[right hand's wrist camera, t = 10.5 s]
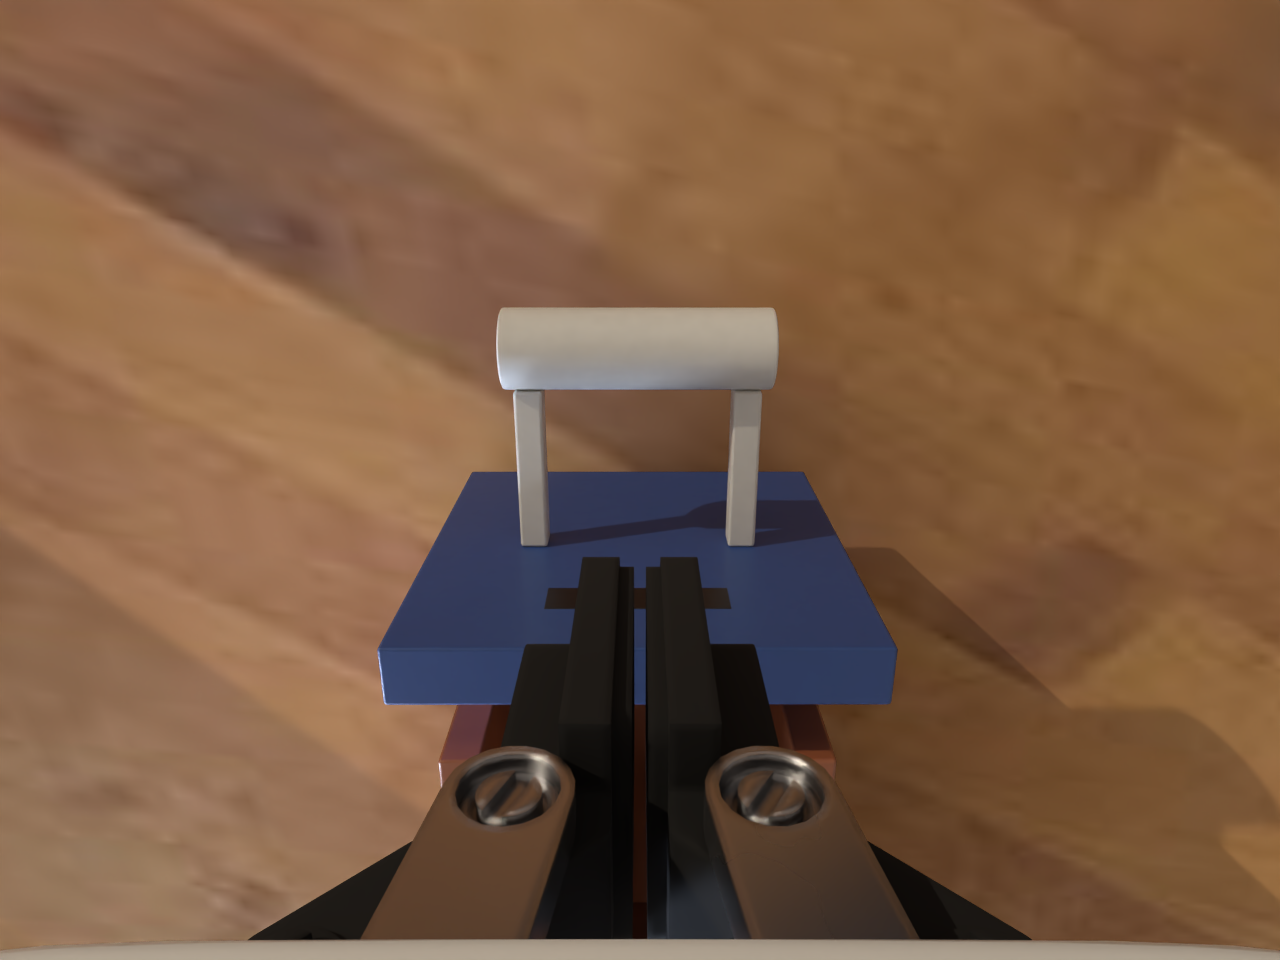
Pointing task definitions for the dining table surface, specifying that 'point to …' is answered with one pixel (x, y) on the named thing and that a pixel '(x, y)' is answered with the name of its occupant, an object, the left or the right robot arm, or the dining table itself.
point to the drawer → (636, 544)
